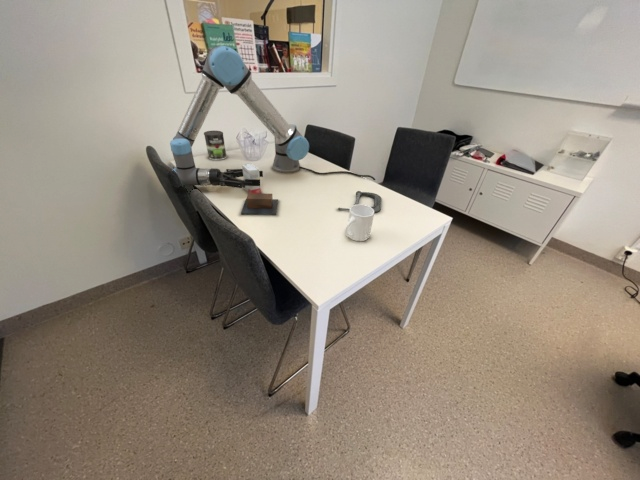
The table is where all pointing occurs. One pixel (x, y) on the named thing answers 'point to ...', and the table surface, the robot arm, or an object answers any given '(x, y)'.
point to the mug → (359, 222)
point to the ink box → (251, 177)
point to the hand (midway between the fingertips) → (261, 178)
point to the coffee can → (215, 145)
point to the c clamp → (377, 198)
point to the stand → (260, 204)
